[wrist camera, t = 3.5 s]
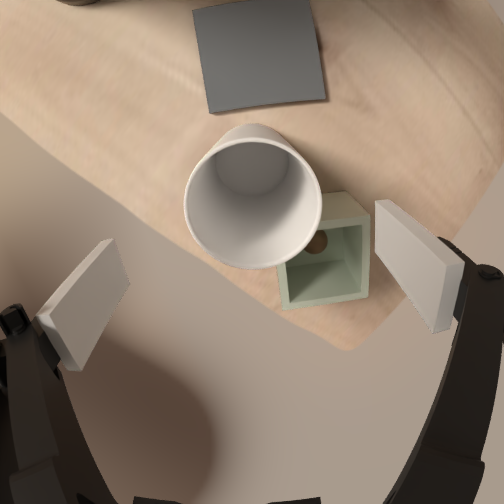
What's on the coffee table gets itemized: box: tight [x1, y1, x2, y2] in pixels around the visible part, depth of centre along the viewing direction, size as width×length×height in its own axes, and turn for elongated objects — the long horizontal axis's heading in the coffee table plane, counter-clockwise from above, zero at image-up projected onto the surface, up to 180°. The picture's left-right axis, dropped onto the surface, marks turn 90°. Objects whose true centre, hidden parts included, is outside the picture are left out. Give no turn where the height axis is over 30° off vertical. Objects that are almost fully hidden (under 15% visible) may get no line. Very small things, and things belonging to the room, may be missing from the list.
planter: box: [276, 191, 370, 311], centre depth 32 cm, size 9×9×8 cm
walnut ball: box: [304, 230, 328, 254], centre depth 34 cm, size 3×3×3 cm
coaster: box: [192, 0, 326, 113], centre depth 27 cm, size 12×12×1 cm
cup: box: [184, 123, 322, 270], centre depth 25 cm, size 8×8×16 cm
